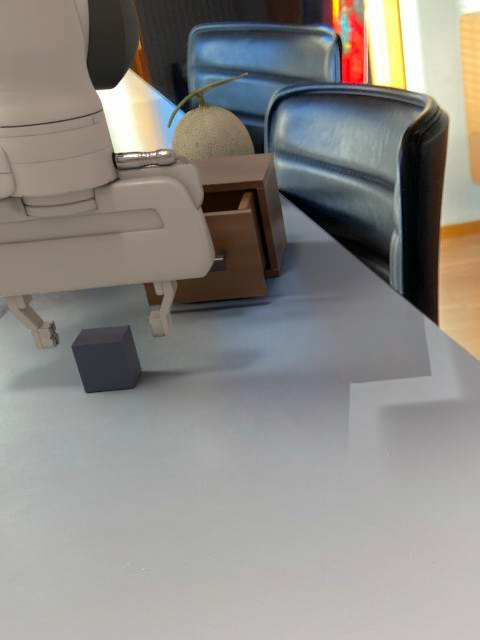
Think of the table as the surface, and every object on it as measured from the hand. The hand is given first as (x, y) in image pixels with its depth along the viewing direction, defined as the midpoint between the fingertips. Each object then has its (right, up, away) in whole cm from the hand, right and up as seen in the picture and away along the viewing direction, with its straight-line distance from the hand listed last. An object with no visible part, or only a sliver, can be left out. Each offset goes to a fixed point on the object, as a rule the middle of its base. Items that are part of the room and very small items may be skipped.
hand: (106, 340), depth 84 cm
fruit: (-4, +34, +53) cm, 63 cm away
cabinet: (+3, +17, +29) cm, 34 cm away
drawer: (+4, +11, +19) cm, 22 cm away
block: (0, -3, +2) cm, 4 cm away
